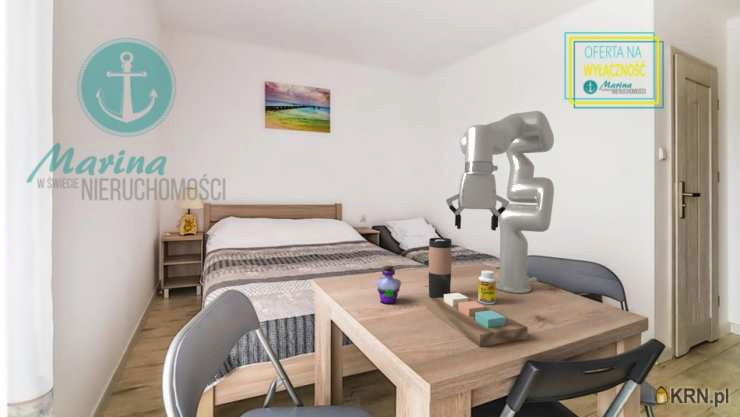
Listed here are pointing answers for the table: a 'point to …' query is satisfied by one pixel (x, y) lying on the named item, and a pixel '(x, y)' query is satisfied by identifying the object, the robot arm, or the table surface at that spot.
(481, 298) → the supplement bottle
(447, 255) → the travel mug
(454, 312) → the console
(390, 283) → the potion bottle
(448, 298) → the ivory button
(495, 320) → the teal button
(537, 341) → the table surface
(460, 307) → the terracotta button
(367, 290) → the table surface
